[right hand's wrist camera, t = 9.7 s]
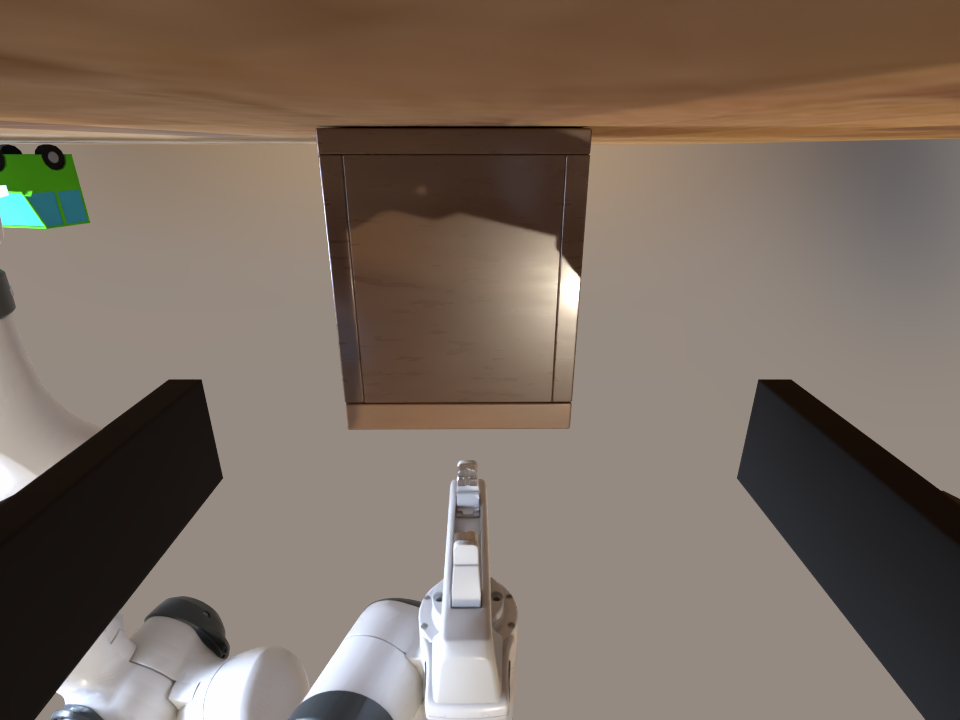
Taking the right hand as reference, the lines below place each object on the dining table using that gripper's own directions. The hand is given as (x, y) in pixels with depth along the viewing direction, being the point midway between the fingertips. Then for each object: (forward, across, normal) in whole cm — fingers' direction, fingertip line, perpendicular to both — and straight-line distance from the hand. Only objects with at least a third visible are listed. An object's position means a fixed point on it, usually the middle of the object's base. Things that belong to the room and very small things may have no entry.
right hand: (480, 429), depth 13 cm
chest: (+18, +1, -7) cm, 19 cm away
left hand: (+24, +1, +20) cm, 31 cm away
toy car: (+58, +60, -7) cm, 83 cm away
